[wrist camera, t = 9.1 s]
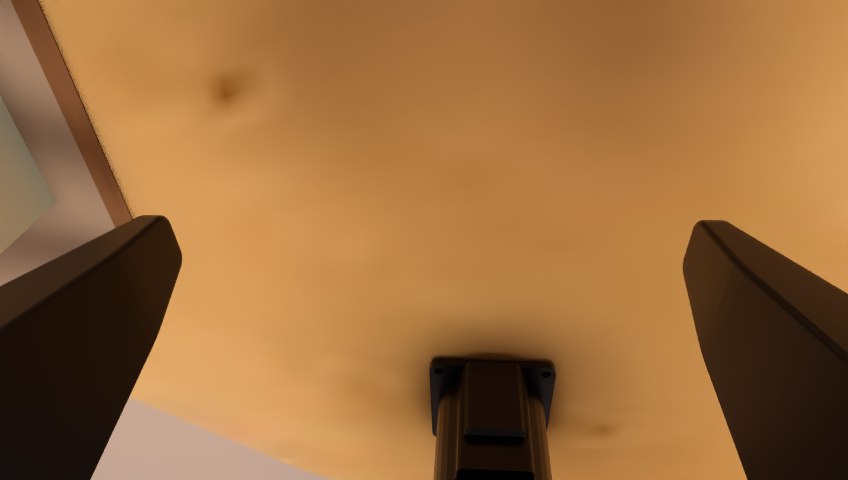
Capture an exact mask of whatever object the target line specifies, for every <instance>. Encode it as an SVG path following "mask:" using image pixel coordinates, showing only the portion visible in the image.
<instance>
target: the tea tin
mask: <svg viewBox="0 0 848 480" xmlns="http://www.w3.org/2000/svg"><path fill="white" fill-rule="evenodd" d="M55 203H56V201H55V200H54V198H53V196H52V194H51V192H50V190H49V188H48V186H47V184H46V182H45V180H44V178H43V177H42V175H41V173H40V171H39V169H38V167H37V165H36V163H35V161H34V159H33V157H32V155H31V154H30V152H29V150H28V148H27V146H26V144H25V142H24V140H23V138H22V136H21V134H20V132H19V131H18V129H17V127H16V125H15V123H14V121H13V119H12V117H11V115H10V113H9V111H8V109H7V108H6V106H5V104H4V102H3V100H2V98H1V96H0V254H1V253H2V252H3V251H4V250H5V249H6V248H7V247H9V246H10V245H11V244H12V243H13V242H14V241H15V240H16V239H17V238H18V237H19V236H20V235H22V234H23V233H24V232H25V231H26V230H27V229H28V228H29V227H30V226H31V225H32V224H33V223H35V222H36V221H37V220H38V219H39V218H40V217H41V216H42V215H43V214H44V213H45V212H46V211H48V210H49V209H50V208H51V207H52V206H53V205H54V204H55Z"/></svg>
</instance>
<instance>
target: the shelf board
mask: <svg viewBox="0 0 848 480" xmlns="http://www.w3.org/2000/svg"><path fill="white" fill-rule="evenodd" d="M0 96H1V98H2V100H3V102H4V104H5V106H6V108H7V109H8V111H9V113H10V115H11V117H12V119H13V121H14V123H15V125H16V127H17V129H18V131H19V132H20V134H21V136H22V138H23V140H24V142H25V144H26V146H27V148H28V150H29V152H30V154H31V155H32V157H33V159H34V161H35V163H36V165H37V167H38V169H39V171H40V173H41V175H42V177H43V178H44V180H45V182H46V184H47V186H48V188H49V190H50V192H51V194H52V196H53V198H54V200H55V201H56V203H55V204H54V205H53V206H52V207H51V208H50V209H49V210H48V211H46V212H45V213H44V214H43V215H42V216H41V217H40V218H39V219H38V220H37V221H36V222H35V223H33V224H32V225H31V226H30V227H29V228H28V229H27V230H26V231H25V232H24V233H23V234H22V235H20V236H19V237H18V238H17V239H16V240H15V241H14V242H13V243H12V244H11V245H10V246H9V247H7V248H6V249H5V250H4V251H3V252H2V253H1V254H0V286H1V285H3V284H5V283H7V282H9V281H11V280H13V279H15V278H17V277H19V276H21V275H23V274H25V273H27V272H29V271H31V270H33V269H35V268H37V267H39V266H41V265H43V264H45V263H47V262H49V261H51V260H53V259H55V258H57V257H59V256H61V255H63V254H65V253H67V252H69V251H71V250H73V249H75V248H77V247H79V246H81V245H83V244H85V243H87V242H89V241H91V240H93V239H95V238H97V237H99V236H101V235H103V234H105V233H107V232H109V231H111V230H113V229H115V228H117V227H119V226H121V225H123V224H125V223H127V222H129V221H131V220H132V218H131V216H130V213H129V211H128V209H127V207H126V204H125V202H124V200H123V197H122V195H121V193H120V190H119V188H118V186H117V183H116V181H115V179H114V176H113V174H112V172H111V170H110V167H109V165H108V163H107V160H106V158H105V156H104V153H103V151H102V149H101V146H100V144H99V142H98V139H97V137H96V135H95V133H94V130H93V128H92V126H91V123H90V121H89V119H88V116H87V114H86V112H85V109H84V107H83V105H82V102H81V100H80V98H79V96H78V93H77V91H76V89H75V86H74V84H73V82H72V79H71V77H70V75H69V72H68V70H67V68H66V65H65V63H64V61H63V59H62V56H61V54H60V52H59V49H58V47H57V45H56V42H55V40H54V38H53V35H52V33H51V31H50V28H49V26H48V24H47V22H46V19H45V17H44V15H43V12H42V10H41V8H40V5H39V3H38V1H37V0H0Z"/></svg>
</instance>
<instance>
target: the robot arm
mask: <svg viewBox="0 0 848 480" xmlns="http://www.w3.org/2000/svg"><path fill="white" fill-rule="evenodd" d="M181 264H182V253H181V250H180V247H179V245H178V242H177V240H176V237H175V234H174V232H173V229H172V227H171V224H170V222H169V220H168V219H167V218H166V217H164V216H161V215H142V216H139V217H137V218H135V219H133V220H131V221H129V222H127V223H125V224H123V225H121V226H119V227H117V228H115V229H113V230H111V231H109V232H107V233H105V234H103V235H101V236H99V237H97V238H95V239H93V240H91V241H89V242H87V243H85V244H83V245H81V246H79V247H77V248H75V249H73V250H71V251H69V252H67V253H65V254H63V255H61V256H59V257H57V258H55V259H53V260H51V261H49V262H47V263H45V264H43V265H41V266H39V267H37V268H35V269H33V270H31V271H29V272H27V273H25V274H23V275H21V276H19V277H17V278H15V279H13V280H11V281H9V282H7V283H5V284H3V285H1V286H0V480H90V479H91V477H92V475H93V473H94V471H95V469H96V466H97V464H98V462H99V460H100V458H101V456H102V454H103V452H104V449H105V447H106V445H107V443H108V441H109V439H110V437H111V434H112V432H113V430H114V428H115V426H116V424H117V422H118V420H119V418H120V415H121V413H122V411H123V409H124V406H125V404H126V403H127V400H128V398H129V396H130V394H131V392H132V390H133V388H134V386H135V383H136V381H137V379H138V377H139V375H140V373H141V371H142V368H143V366H144V364H145V362H146V360H147V358H148V356H149V354H150V351H151V349H152V347H153V345H154V342H155V340H156V338H157V335H158V333H159V330H160V327H161V325H162V322H163V319H164V316H165V313H166V310H167V307H168V304H169V301H170V298H171V295H172V292H173V289H174V286H175V283H176V280H177V277H178V274H179V271H180V268H181ZM683 274H684V279H685V283H686V288H687V292H688V297H689V301H690V305H691V310H692V314H693V319H694V323H695V328H696V332H697V336H698V341H699V344H700V348H701V352H702V355H703V358H704V361H705V364H706V367H707V370H708V372H709V375H710V378H711V381H712V383H713V386H714V389H715V392H716V394H717V397H718V400H719V403H720V405H721V408H722V411H723V414H724V416H725V419H726V422H727V425H728V427H729V430H730V433H731V436H732V438H733V441H734V444H735V447H736V449H737V452H738V455H739V457H740V460H741V463H742V466H743V468H744V471H745V474H746V477H747V479H748V480H848V294H847V293H846V292H844V291H842V290H841V289H839V288H837V287H836V286H834V285H832V284H831V283H829V282H827V281H826V280H824V279H822V278H821V277H819V276H817V275H815V274H814V273H812V272H810V271H809V270H807V269H805V268H804V267H802V266H800V265H799V264H797V263H795V262H794V261H792V260H790V259H789V258H787V257H785V256H784V255H782V254H780V253H779V252H777V251H775V250H774V249H772V248H770V247H769V246H767V245H765V244H764V243H762V242H760V241H758V240H757V239H755V238H753V237H752V236H750V235H748V234H747V233H745V232H743V231H742V230H740V229H738V228H737V227H735V226H733V225H732V224H730V223H728V222H726V221H723V220H700V221H699V222H697V223H696V224H695V226H694V228H693V231H692V234H691V237H690V241H689V244H688V247H687V250H686V254H685V257H684V260H683ZM545 371H546V372H545ZM555 377H556V373H555V366H554V365H553V364H551V363H549V362H528V361H496V360H464V359H435V360H433V361H432V362H431V363H430V390H431V410H432V430H433V435H434V436H436V450H435V466H434V480H552V475H551V466H550V457H549V449H548V440H547V427H548V421H549V414H550V408H551V402H552V396H553V389H554V383H555Z"/></svg>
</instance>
